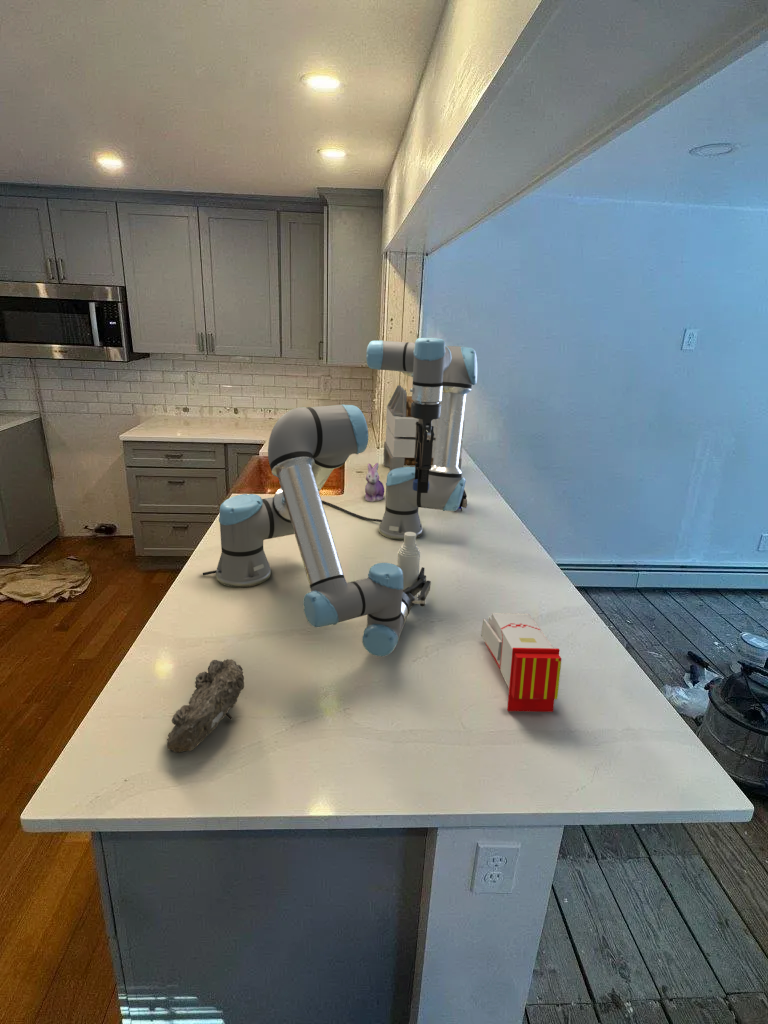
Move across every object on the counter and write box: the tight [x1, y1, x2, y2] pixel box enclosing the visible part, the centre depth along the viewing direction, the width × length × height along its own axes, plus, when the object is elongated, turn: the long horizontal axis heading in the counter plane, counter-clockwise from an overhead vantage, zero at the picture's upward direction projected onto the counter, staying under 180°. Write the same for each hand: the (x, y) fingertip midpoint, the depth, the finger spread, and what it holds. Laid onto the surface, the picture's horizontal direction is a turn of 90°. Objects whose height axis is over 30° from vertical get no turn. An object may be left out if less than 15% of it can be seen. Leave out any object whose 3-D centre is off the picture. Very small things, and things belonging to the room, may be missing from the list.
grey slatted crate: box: [383, 384, 465, 472], centre depth 268 cm, size 34×33×41 cm
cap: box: [413, 479, 429, 491], centre depth 151 cm, size 4×4×2 cm
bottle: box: [396, 532, 421, 598], centre depth 151 cm, size 6×6×20 cm
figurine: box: [364, 462, 385, 502], centre depth 233 cm, size 9×10×15 cm
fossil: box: [166, 658, 245, 754], centre depth 106 cm, size 22×10×15 cm
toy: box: [480, 612, 562, 713], centre depth 124 cm, size 12×13×30 cm
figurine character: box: [457, 489, 468, 512], centre depth 228 cm, size 7×8×15 cm
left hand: (411, 570), depth 157 cm, fingers closed on bottle, 6 cm apart
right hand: (420, 489), depth 152 cm, fingers closed on cap, 4 cm apart
